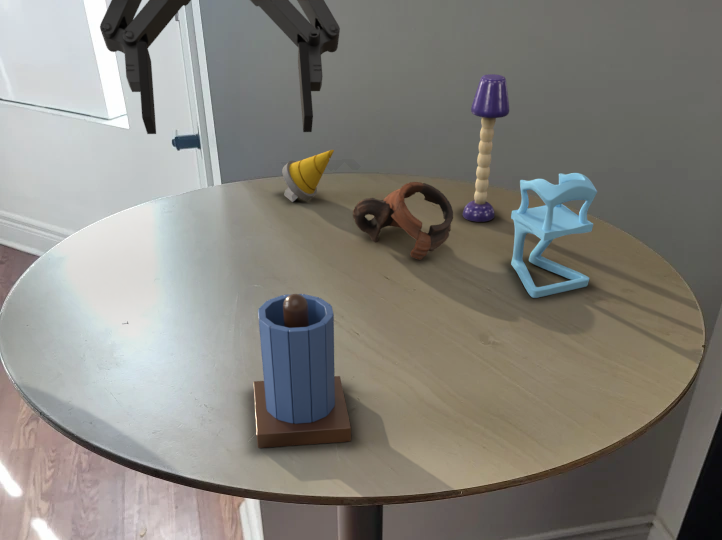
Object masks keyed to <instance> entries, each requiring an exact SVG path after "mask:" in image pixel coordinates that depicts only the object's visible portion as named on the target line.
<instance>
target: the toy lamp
mask: <svg viewBox="0 0 722 540" xmlns="http://www.w3.org/2000/svg"><path fill="white" fill-rule="evenodd" d="M507 84H508V83H507V79H506V77H505V76H504V75H502V74H495V73H494V74H493V73H490V74H489V73H488V74H483V75H482V76H481V77H480V79H479V82H478V86H477V88H476V91H475V95H474V98H473V100H472V104H471V107H470V112H471V114H472V115H474V116H476V117H478V118H479V117H480V118H481V121H480V123H481V128H480V132H479V138H480V141H479V143H478V152H479V153H478V155H477V158H476V159H477V160H476V162H477V165H478V166H477V167H476V170H475V171H476V172H475V174H476V179H475V185H474V187H475V192H474V196H473V198H474V200H470V201H469V202H468V203H467V204H466V205H465V206H464V208H463V211H462V217H463V218H464V219H466V220H467V221H471V222H476V223H484V222H489V221H492V220H493V219H494V218H495V215H496V213H495V209H494V207H493V205H492V204H491V203H490V202H488V196H489V195H488V189H489V187H490V186H489V185H490V180H489V177H490V175H491V167H490V165H491V163H492V162H491V161H492V154H491V153H492V152H493V151H492V150H493V144H494V143H493V139H494V136H495V129H494V127H495V124H496V120H497V119H498V118H499V119H500V118H501V119H502V118H505V117H507V116H508V115H509V114H510V101H509V100H510V99H509V93H508V92H509V91H508V85H507Z"/></svg>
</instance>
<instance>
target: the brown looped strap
mask: <svg viewBox="0 0 722 540" xmlns="http://www.w3.org/2000/svg"><path fill="white" fill-rule="evenodd" d="M416 193H420V194H422V195H423V197H424V199H423V200H424V201H426V202H429V203H433V204H435V205H438V206H439V207H440V209H441V212H442V215H443V216H442V217H443V220H444V221H443V222H442V223H439V224H431V225H430V226H429V228H428V232H426V231H422V228H423V222H422V221H421V220H420V219H419V218H417V217H416V216H415V215H413V214H412V212H411V211H410V210H409V208H408V206H407V203H406V202H405V199H408V198H410V197H411V196H414V195H415V194H416ZM367 215H371V216H373V217H372V218H371V219H368V218H367V217H366V216H367ZM352 217H353V220H354V223H355V225H356V227H357V228H358V229H359V230H360V231H361V232H363V233H365V234H367V235H368V236H369V237H370V240H371V241H372V242H373V243H378V242H379V239H380V234H381V230H382V229H384V228H386V227H394V228H400V229H402V230H404V232H406V233H407V234H408V236H410V237H411V238H413V239H414V240H415V244H414V247H413V248H412V249H411V251H410V257H411V258H413V259H416V260H419V261H420V260H423V259H424V258H425V257H426V256H427V255H428V253H429V252H430V253H431V252H434V251H435V250H436V249H438V248H439V247H441V246H442V245H444V243H446V241H447V240H448V238H449V236H450V232H451V227H452V225H451V224H452V222H453V220H454V210H453V206H452V204H451V202H450V201H449V200H448V197H446V195H445V194H444V193H443V192H442V191H441V190H440V189H439V188H436V187H435V186H433V185H431V184H428V183H425V182H420V181H410V182H408V183H405V184H403V185H402V186H401V187H400V188H398V189H395V190H393V191H391V192H390V193H388V194H387V195H386V196H385V197H384V198H383V199H378V198H375V197H367V198H363V199H362V200H359V201H358V202H357V204H356V205H355V206H354V208H353V210H352Z"/></svg>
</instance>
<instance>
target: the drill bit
mask: <svg viewBox="0 0 722 540" xmlns="http://www.w3.org/2000/svg"><path fill="white" fill-rule="evenodd" d="M334 152H335V149H330V150H327V151H324V152H321V153H318V154H315V155H313V156H312V155H311V156H309V157H307V158H304V159H301V160H296V161H295V160H289V161H288V162H287V163H286V164H284V166H283V167H282V170H281V171H282V172H281V173H282V177H283V181H284V182H285V184H286V186H287V188H286V189H284V194H283V196H284V197H286V198H287V199H288V200H289V201H290V202H292V203H294V202H295V201H296V200H297V199H298V198H299V199H301V200H303V201H310V200H311V199H313V198H314V197H315V196H316V195H317V192H318V188H317V187H318V185H319V183H320V181H321V179H322V177H323V174H324V172H325V170H326V168H327V166H328V164H329V162H330V159H331V158H332V156H333V154H334Z"/></svg>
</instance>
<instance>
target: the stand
mask: <svg viewBox="0 0 722 540" xmlns="http://www.w3.org/2000/svg"><path fill="white" fill-rule="evenodd" d="M290 294H291V295H289V296H288V297H287V298H286V299H285V300H284V303H283V314H284V327H288V328H297V327H308V326H309V317H308V303H307V301H306V299H305V298H304V297H303V296H302V295H303V294H302V295H299V294H300V293H290ZM334 379H335V405H334V408H333V409H332V410H331V412H330V413H329V414H328V415H327V416H326V417H324V418H322V419H319V420H317V421H315V422H311V423H300V424H294V423H293V424H292V423H288V422H284V421H281V420H278V419H276V418H275V417H273V416H272V415H271V414H270V413H269V412H268V411H267V410H266V398H265V387H264V380H256V381H253V383H252V384H253V400H254V414H255V416H254V417H255V429H256V431H255V432H256V443H257V448H258V449H264V448H265V449H267V448H279V447H293V446H305V445H306V446H307V445H318V444H319V445H321V444H331V443H346V442H347V443H348V442H351V441H352V426H351V422H350V416H349V413H348V407H347V402H346V398H345V394H344V389H343V383H342V379H341V376H340V375H334Z"/></svg>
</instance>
